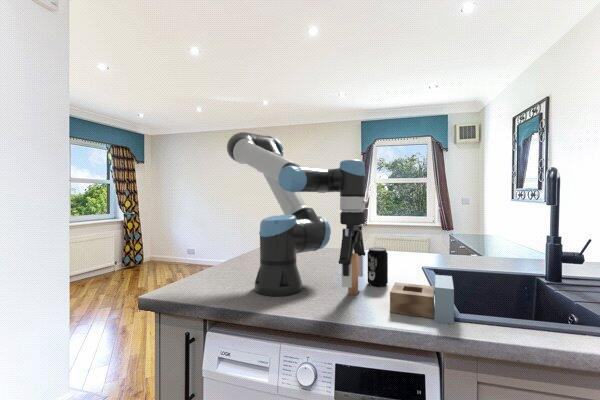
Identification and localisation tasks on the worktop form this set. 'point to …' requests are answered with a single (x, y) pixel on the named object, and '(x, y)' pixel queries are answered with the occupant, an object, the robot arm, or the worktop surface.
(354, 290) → the dowel
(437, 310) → the wall
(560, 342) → the worktop surface
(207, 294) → the worktop surface
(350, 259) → the robot arm
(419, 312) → the socket block
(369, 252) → the beverage can
